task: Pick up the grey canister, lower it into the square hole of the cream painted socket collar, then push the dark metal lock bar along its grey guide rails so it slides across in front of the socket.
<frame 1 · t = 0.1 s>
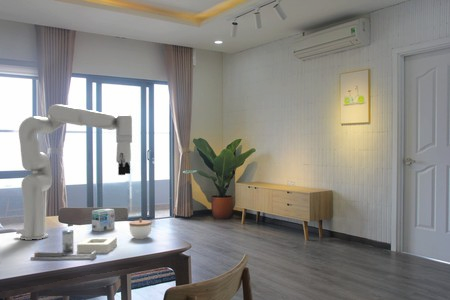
hand: (124, 174, 199), 31 cm above the table, fingers open, 9 cm apart
grey canister: (68, 251, 171), on the table
lidded jar: (140, 238, 198), on the table
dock: (97, 248, 176), on the table
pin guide: (62, 258, 161), on the table
light bulb box: (103, 229, 219), on the table
lock pin: (49, 255, 161), point 1 cm above the table, slide at 0.0 cm
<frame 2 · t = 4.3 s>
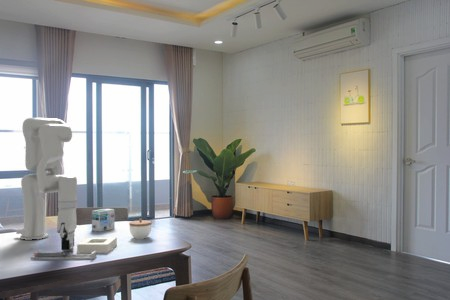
hand: (67, 247, 171), 2 cm above the table, fingers closed on grey canister, 4 cm apart
grey canister: (67, 251, 171), on the table, touching gripper
everything else where it was.
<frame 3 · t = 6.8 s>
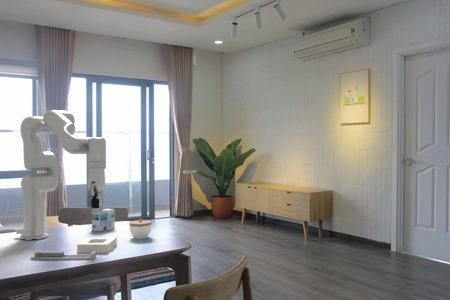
hand: (97, 206, 176), 18 cm above the table, fingers closed on grey canister, 4 cm apart
grey canister: (97, 211, 176), point 17 cm above the table, touching gripper
everything else where it was.
when the fingers open (4 cm above the table, at t = 9.6 s): grey canister drops 2 cm, resting in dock.
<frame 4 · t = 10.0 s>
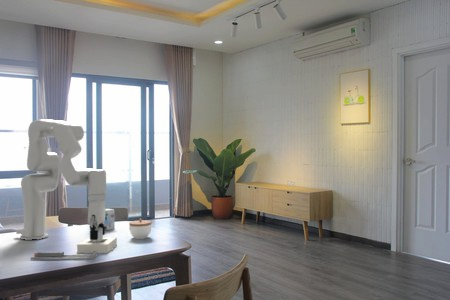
hand: (97, 237, 176), 5 cm above the table, fingers open, 8 cm apart
grey canister: (97, 248, 176), resting in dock
everything else where it was.
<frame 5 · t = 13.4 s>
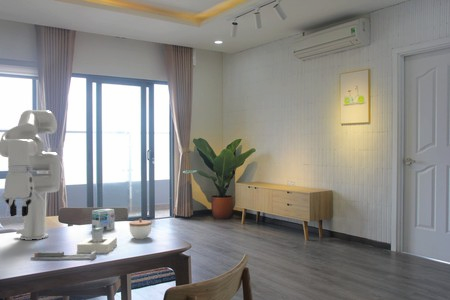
hand: (19, 215, 161), 17 cm above the table, fingers open, 3 cm apart
nothing on the table moved.
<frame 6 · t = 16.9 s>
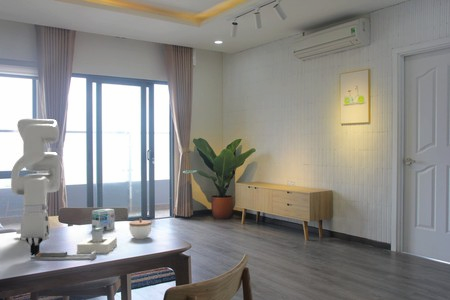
hand: (35, 254, 161), 2 cm above the table, fingers closed
lock pin: (52, 255, 161), point 1 cm above the table, slide at 1.3 cm, touching gripper
everything else where it was.
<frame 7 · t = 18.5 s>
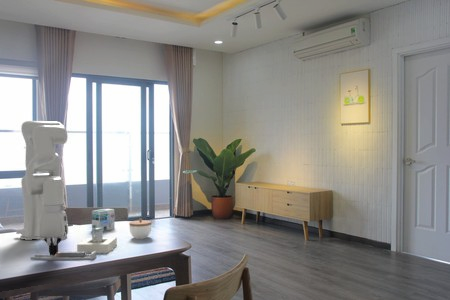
hand: (53, 254, 161), 2 cm above the table, fingers closed
lock pin: (71, 255, 161), point 1 cm above the table, slide at 8.8 cm, touching gripper
everything else where it was.
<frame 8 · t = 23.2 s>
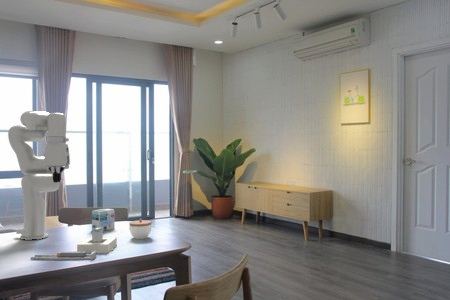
hand: (56, 182, 179), 29 cm above the table, fingers closed
lock pin: (71, 255, 161), point 1 cm above the table, slide at 9.0 cm
everything else where it was.
at the end: grey canister 0.1 cm off-centre on the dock, point 0.0 cm above the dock's base; grey canister tilted 0°; lock pin slide at 9.0 cm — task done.
